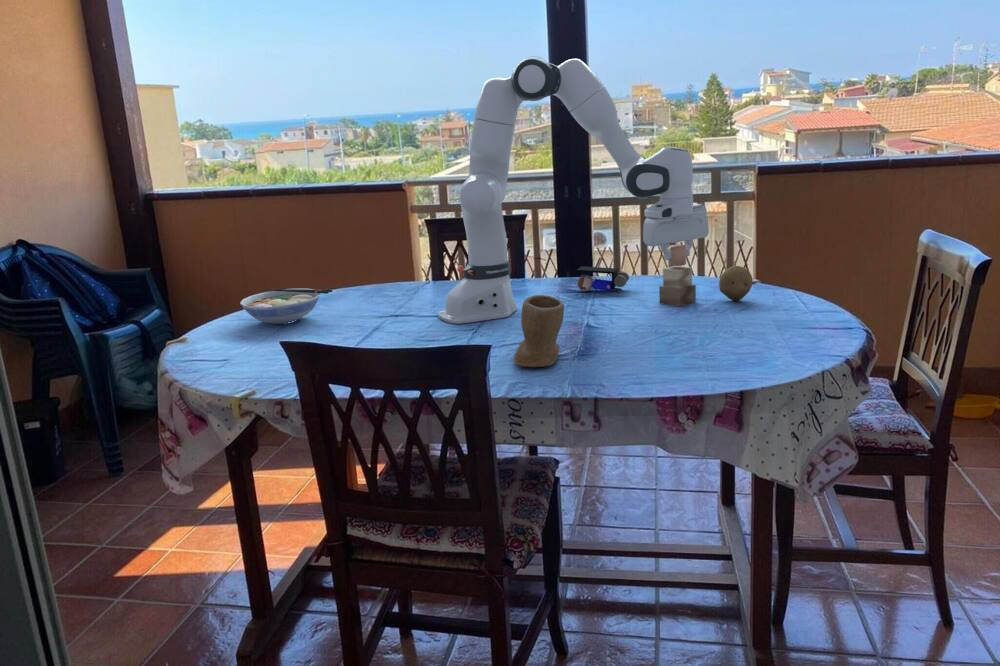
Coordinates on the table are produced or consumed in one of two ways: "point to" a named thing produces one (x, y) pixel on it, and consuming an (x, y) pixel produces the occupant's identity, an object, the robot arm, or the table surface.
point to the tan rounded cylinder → (677, 255)
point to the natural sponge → (735, 282)
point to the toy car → (617, 280)
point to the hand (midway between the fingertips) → (676, 257)
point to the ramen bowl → (282, 304)
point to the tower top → (677, 276)
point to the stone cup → (539, 331)
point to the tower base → (677, 295)
